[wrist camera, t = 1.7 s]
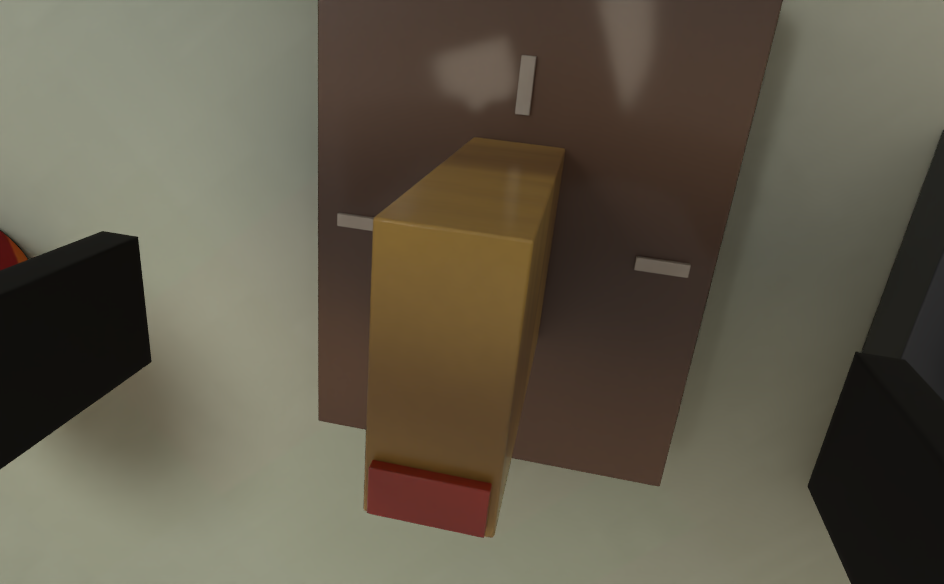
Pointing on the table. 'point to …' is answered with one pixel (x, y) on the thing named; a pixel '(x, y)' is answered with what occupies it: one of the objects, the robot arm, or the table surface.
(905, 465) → the robot arm
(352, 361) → the plate
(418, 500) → the tan rectangular block
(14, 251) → the coffee cup
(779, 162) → the table surface
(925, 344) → the doorbell
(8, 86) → the table surface
